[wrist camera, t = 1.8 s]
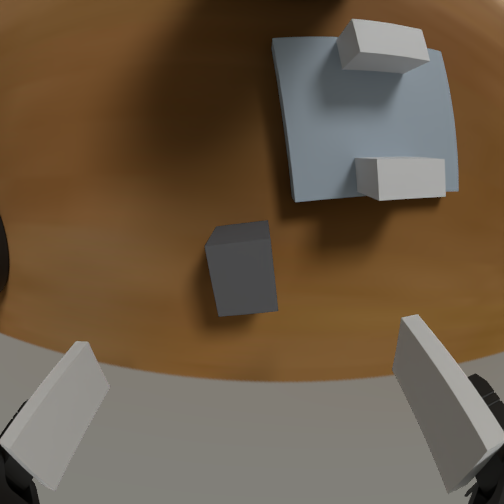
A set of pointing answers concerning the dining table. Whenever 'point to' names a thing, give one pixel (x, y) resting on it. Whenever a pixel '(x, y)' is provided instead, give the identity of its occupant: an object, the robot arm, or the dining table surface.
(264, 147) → the dining table surface
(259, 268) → the dark gray block
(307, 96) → the board
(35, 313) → the dining table surface
